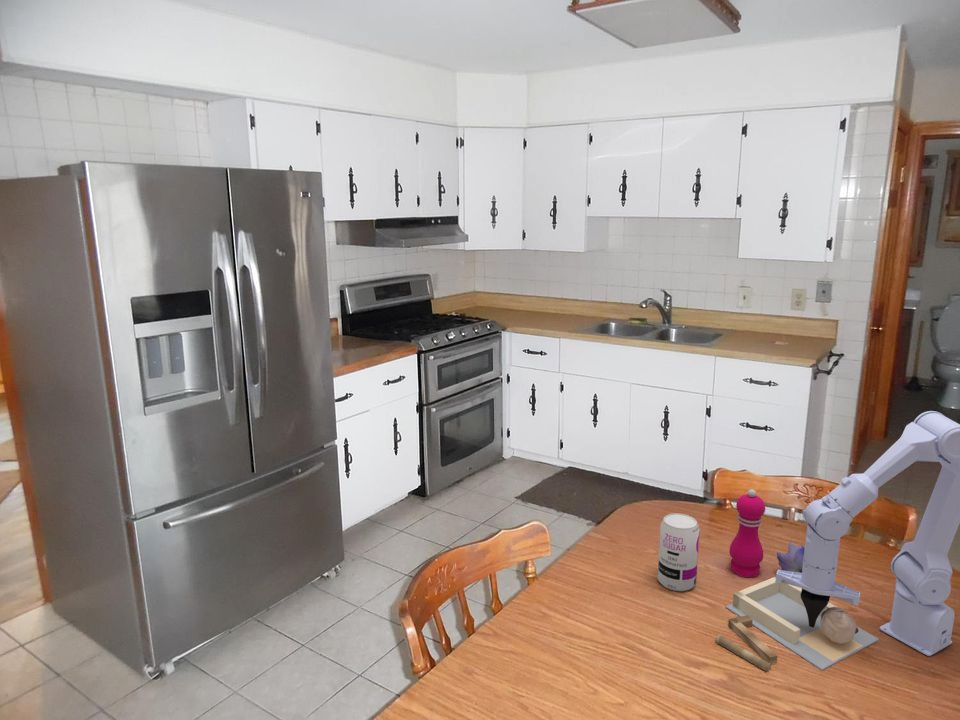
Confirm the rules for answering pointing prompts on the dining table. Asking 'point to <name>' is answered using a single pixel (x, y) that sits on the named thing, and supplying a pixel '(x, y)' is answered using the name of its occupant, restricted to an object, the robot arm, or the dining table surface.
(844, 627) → the garlic bulb
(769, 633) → the cubby board
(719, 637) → the straight stick
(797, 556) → the flower
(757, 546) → the pepper mill
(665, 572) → the supplement can
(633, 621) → the dining table surface
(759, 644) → the crook tool
